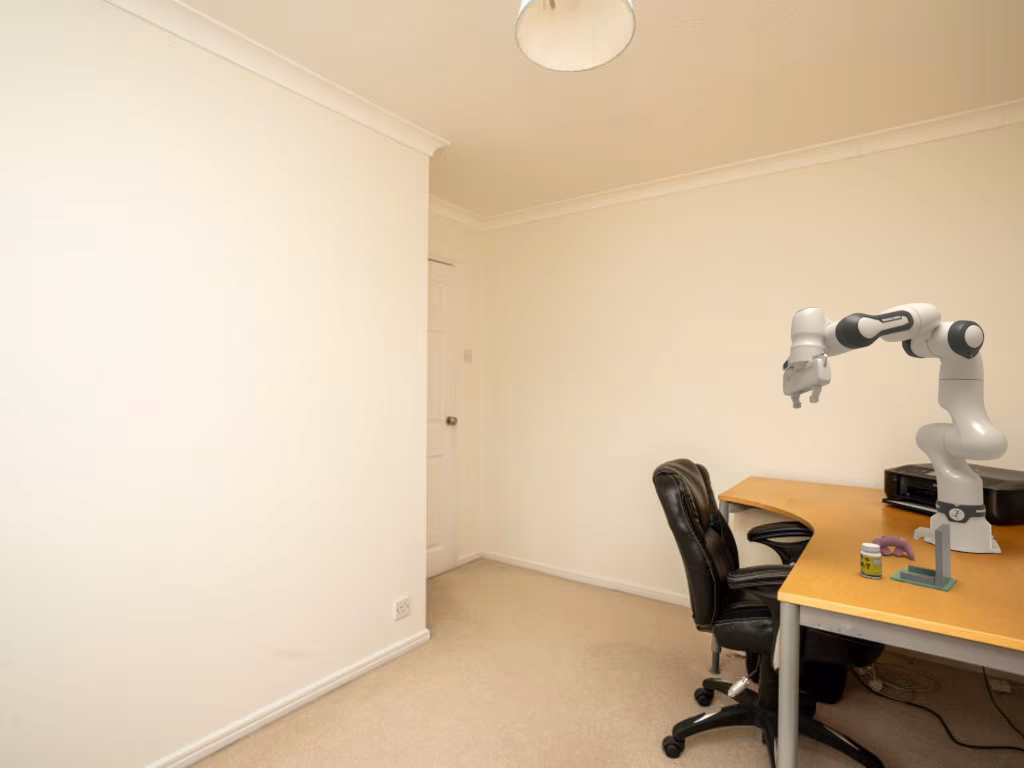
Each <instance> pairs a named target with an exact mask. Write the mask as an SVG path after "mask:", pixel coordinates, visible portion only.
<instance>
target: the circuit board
mask: <svg viewBox="0 0 1024 768" xmlns="http://www.w3.org/2000/svg"><path fill="white" fill-rule="evenodd" d="M900 572H906V573H911V574H916V575H921V576H926V577H931V578H935V585H929V584H924V583H919V582H915V581H910V580H905V579H900ZM889 579H890V580H891V579H894V580H893V581H896V580H898V582H901V581H903V582H902V583H905V582H908V583H907V584H910V583H911V585H916V586H919V585H920V587H925V588H930V589H934V590H938V591H942V592H950V590H951V589H952V588H953V587H954V585H955V584H956V583H957V581H958V579H957V578H952V577H951V579H950V580H949V582H948V583H947V584H946V585H945V586H944V587H943V588H941V587H936V577H934V576H929V575H924V574H919V573H914V572H909V571H908V568H902V567H901V568H899V569H898V570H897V571H896V572H894V573H893V574H892V575H891V576H890V577H889Z"/></svg>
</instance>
